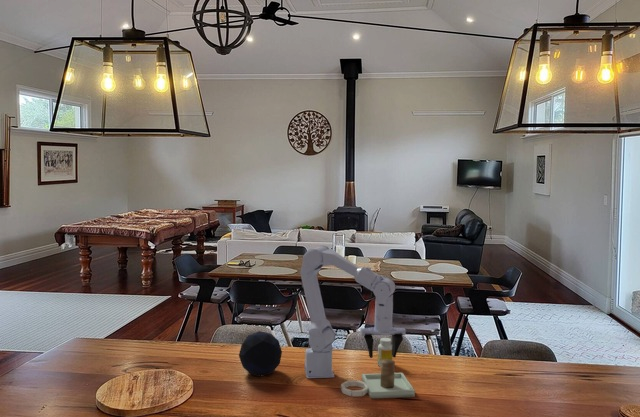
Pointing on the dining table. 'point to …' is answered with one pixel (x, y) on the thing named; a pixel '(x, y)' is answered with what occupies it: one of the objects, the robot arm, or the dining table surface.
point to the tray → (399, 390)
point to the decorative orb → (260, 353)
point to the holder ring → (354, 392)
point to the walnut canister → (387, 373)
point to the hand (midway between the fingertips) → (382, 356)
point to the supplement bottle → (384, 350)
